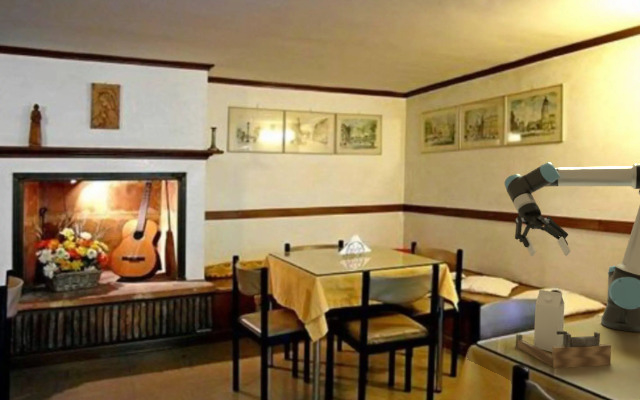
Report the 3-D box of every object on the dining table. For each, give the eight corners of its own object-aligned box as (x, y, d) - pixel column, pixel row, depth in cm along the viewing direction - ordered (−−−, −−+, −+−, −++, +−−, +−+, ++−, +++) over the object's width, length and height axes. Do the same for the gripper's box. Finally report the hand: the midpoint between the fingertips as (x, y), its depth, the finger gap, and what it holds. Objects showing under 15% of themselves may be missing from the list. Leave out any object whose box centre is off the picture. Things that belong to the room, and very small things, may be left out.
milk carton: (540, 343, 174) (542, 288, 173) (562, 348, 169) (564, 291, 168) (533, 348, 168) (535, 291, 167) (556, 353, 164) (559, 294, 163)
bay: (566, 343, 174) (567, 312, 173) (612, 365, 153) (614, 330, 153) (515, 345, 170) (516, 314, 170) (556, 369, 150) (557, 333, 149)
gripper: (551, 215, 199) (576, 259, 185) (493, 214, 194) (514, 260, 180) (561, 202, 194) (587, 246, 179) (501, 201, 189) (523, 247, 175)
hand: (550, 253), depth 180 cm, fingers open, 13 cm apart
